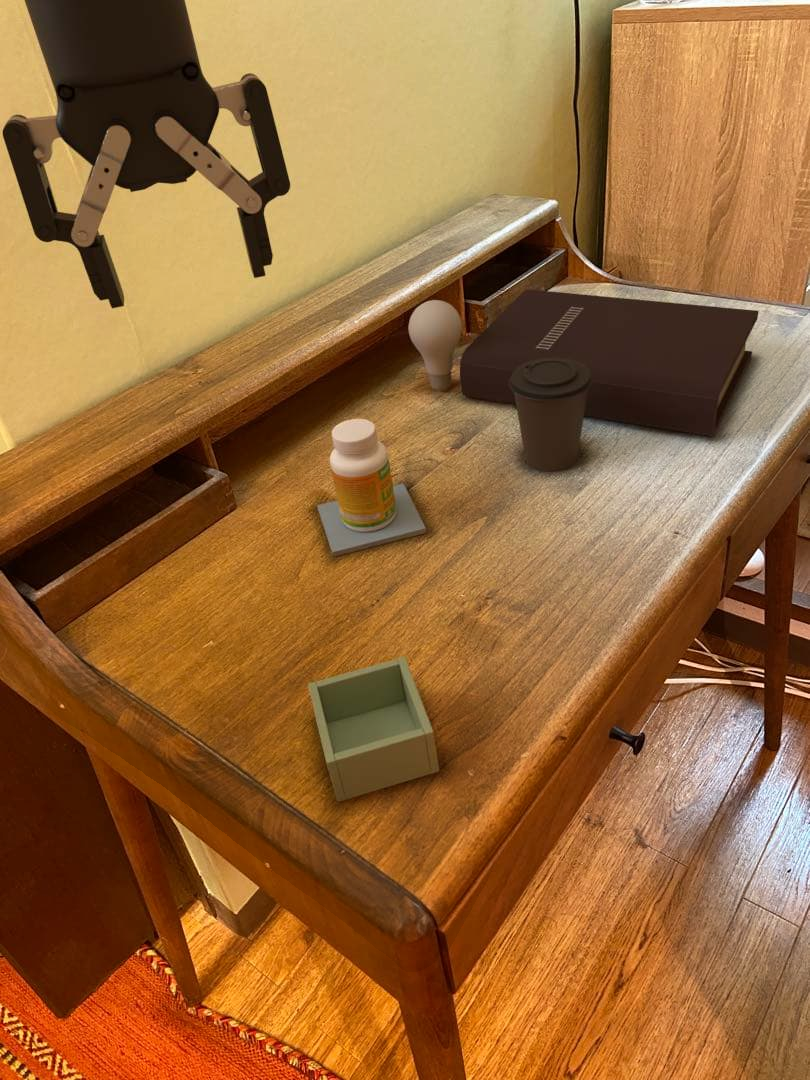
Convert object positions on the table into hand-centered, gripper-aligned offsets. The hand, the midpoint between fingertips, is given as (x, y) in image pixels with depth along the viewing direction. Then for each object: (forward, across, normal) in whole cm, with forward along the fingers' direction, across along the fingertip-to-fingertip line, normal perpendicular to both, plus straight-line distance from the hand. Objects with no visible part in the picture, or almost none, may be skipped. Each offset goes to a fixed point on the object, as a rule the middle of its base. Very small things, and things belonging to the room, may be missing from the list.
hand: (188, 288), depth 50 cm
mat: (+30, -10, -13) cm, 34 cm away
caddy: (+30, -4, +13) cm, 33 cm away
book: (+30, -42, -28) cm, 59 cm away
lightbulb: (+30, -24, -35) cm, 52 cm away
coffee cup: (+30, -30, -16) cm, 45 cm away
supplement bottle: (+30, -10, -13) cm, 34 cm away
